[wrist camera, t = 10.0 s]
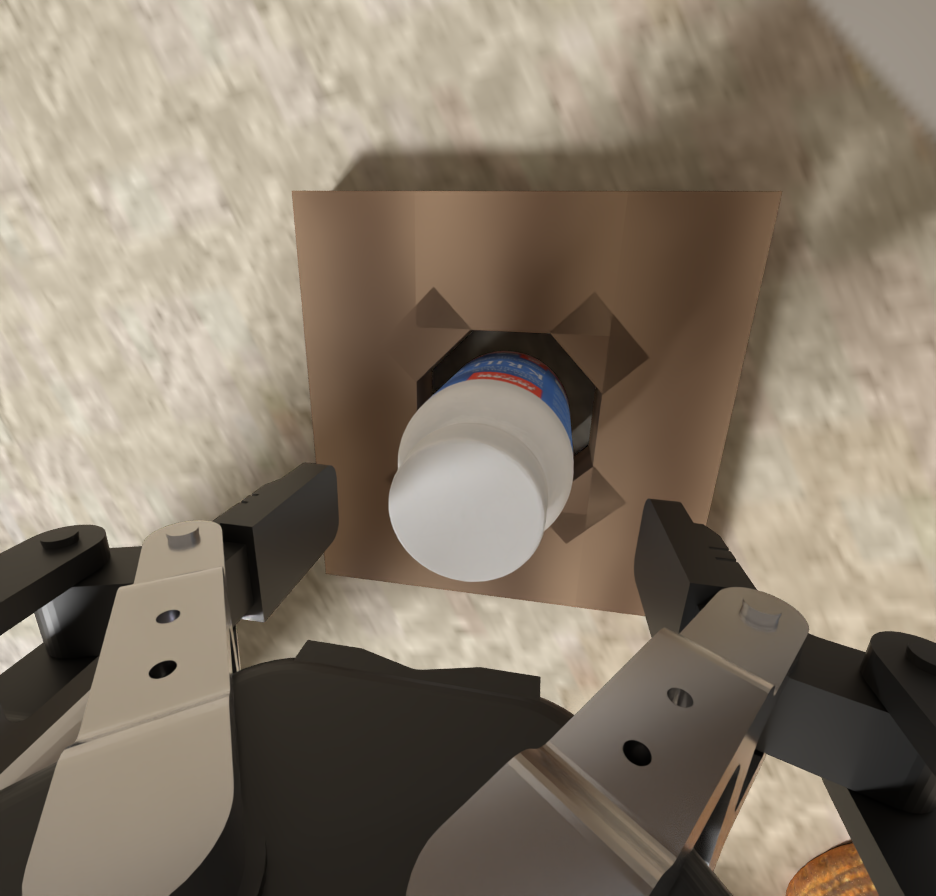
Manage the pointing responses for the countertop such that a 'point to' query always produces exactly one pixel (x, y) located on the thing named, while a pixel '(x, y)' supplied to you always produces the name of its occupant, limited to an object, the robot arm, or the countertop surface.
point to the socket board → (537, 311)
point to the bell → (833, 875)
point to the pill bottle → (484, 468)
